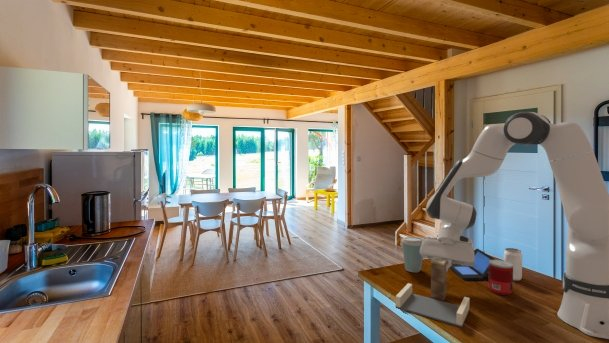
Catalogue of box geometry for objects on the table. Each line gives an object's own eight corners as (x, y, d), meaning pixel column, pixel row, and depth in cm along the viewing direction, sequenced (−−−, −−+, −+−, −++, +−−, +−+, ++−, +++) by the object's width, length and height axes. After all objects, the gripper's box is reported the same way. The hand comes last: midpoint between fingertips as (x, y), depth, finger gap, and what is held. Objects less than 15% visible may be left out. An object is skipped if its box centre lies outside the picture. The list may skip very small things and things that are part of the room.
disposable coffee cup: (396, 269, 143) (396, 237, 142) (410, 263, 150) (410, 233, 149) (416, 276, 135) (417, 242, 134) (430, 270, 142) (430, 238, 141)
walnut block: (446, 296, 116) (446, 259, 116) (443, 300, 113) (444, 263, 112) (433, 293, 119) (434, 257, 118) (430, 297, 116) (431, 260, 115)
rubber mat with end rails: (469, 310, 106) (469, 298, 106) (461, 327, 96) (462, 314, 96) (408, 293, 119) (408, 283, 119) (395, 307, 109) (395, 296, 108)
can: (524, 281, 129) (525, 252, 128) (507, 280, 130) (508, 252, 129) (517, 275, 135) (517, 248, 134) (500, 274, 136) (501, 247, 135)
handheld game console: (447, 267, 146) (447, 247, 145) (476, 267, 146) (476, 247, 145) (463, 281, 130) (464, 259, 130) (496, 281, 130) (496, 259, 129)
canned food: (516, 296, 116) (517, 267, 115) (492, 294, 118) (493, 265, 117) (507, 287, 123) (508, 260, 123) (485, 285, 125) (485, 258, 124)
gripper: (421, 232, 132) (414, 261, 125) (476, 239, 120) (471, 272, 113) (424, 240, 136) (417, 268, 129) (477, 248, 124) (473, 280, 117)
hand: (443, 270), depth 121 cm, fingers closed
